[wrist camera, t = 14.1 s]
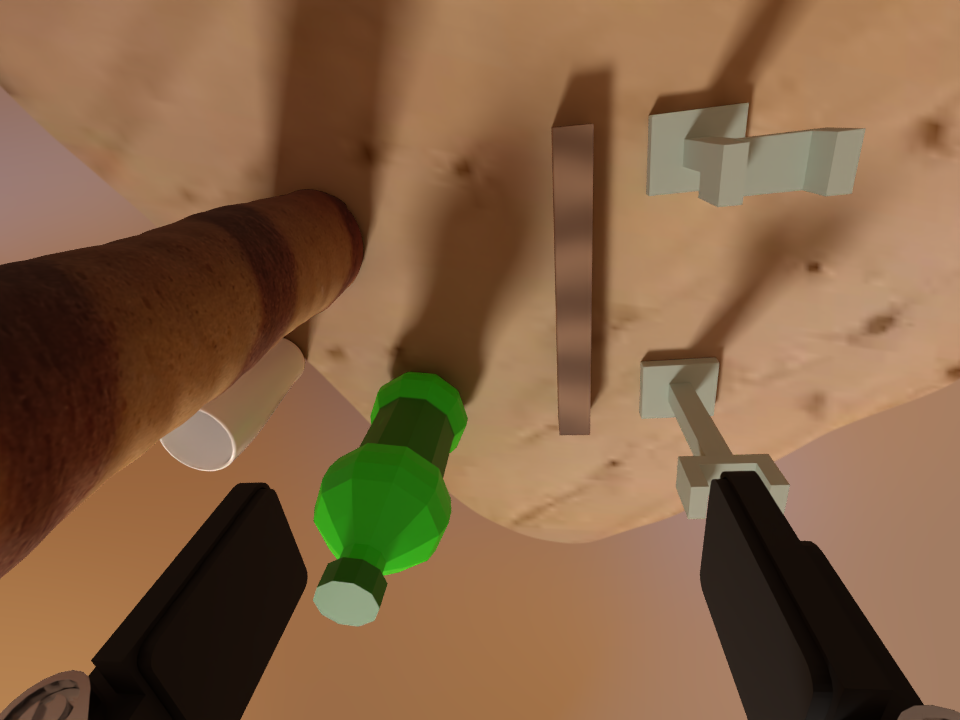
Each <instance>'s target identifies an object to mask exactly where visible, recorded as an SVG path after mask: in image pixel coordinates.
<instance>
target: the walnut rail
mask: <svg viewBox="0 0 960 720" xmlns="http://www.w3.org/2000/svg"><path fill="white" fill-rule="evenodd" d="M593 139H594V124H580V125H570V126H560V127H552V169H553V212H554V254H555V297H556V340H557V383H558V419H559V432H560V435H590V397H591V311H592V225H593Z"/></svg>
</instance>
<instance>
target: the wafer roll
mask: <svg viewBox="0 0 960 720" xmlns="http://www.w3.org/2000/svg"><path fill="white" fill-rule="evenodd" d="M362 259H363V241H362V236H361V233H360V230H359V227H358V224H357V222H356V220H355V218H354V217H353V215H352V213H351V212H350V211H349V210H348V209H347V207H346V205H345V203H343V202H342V201H341V200H339V199H338V198H336V197H334V196H332V195H329V194H326V193H324V192H321V191H317V190H310V189H305V190H298V191H295V192H292V193H290V194H287V195H281V196H277V197H272V198H266V199H260V200H256V201H252V202H249V203H241V204H236V205H227V206H222V207H219V208H215V209H212V210H209V211H206V212H201V213H197V214H194V215H191V216H188V217H186V218H184V219H182V220H179V221H177V222H175V223H172V224H169V225H166V226H163V227H159V228H156V229H152V230H149V231H147V232H144V233H142V234H140V235H137V236H132V237H128V238H124V239H120V240H116V241H113V242H110V243H107V244H103V245H99V246H92V247H86V248H80V249H75V250H70V251H65V252H60V253H55V254H50V255H45V256H41V257H37V258H33V259H29V260H25V261H18V262H12V263H7V264H3V265H0V578H1V577H3V576H4V575H5V574H6V573H8V572H9V571H10V570H11V569H12V568H14V567H15V566H16V565H17V564H18V563H19V562H21V561H22V560H23V559H24V558H25V557H26V556H27V555H28V554H29V553H30V552H31V551H32V550H33V549H34V548H35V547H37V546H38V544H39V543H40V542H41V541H42V540H43V539H44V538H45V537H46V536H47V535H48V534H49V533H50V531H52V530H53V529H54V528H55V527H56V526H57V525H58V524H59V523H60V522H61V521H62V520H63V519H65V518H66V517H67V516H68V515H69V514H70V513H72V512H73V511H74V510H75V509H76V508H78V507H79V506H80V505H81V504H82V503H84V502H85V501H86V500H87V499H88V498H89V497H90V496H91V495H92V494H94V493H95V492H96V491H97V490H98V489H99V488H100V487H101V486H102V485H103V484H104V483H105V482H106V481H107V480H108V479H109V478H110V477H112V476H113V475H114V474H116V473H117V472H119V471H120V470H122V469H123V468H125V467H126V466H127V465H129V464H131V463H132V462H134V461H135V460H136V459H138V458H139V457H140V456H142V455H143V454H144V453H145V452H146V451H148V450H149V449H150V448H151V447H152V446H153V445H154V444H155V443H156V442H157V441H158V440H160V439H161V438H162V437H164V436H165V435H167V434H168V433H170V432H171V431H173V430H175V429H176V428H178V427H179V426H181V425H182V424H183V423H185V422H186V421H187V420H188V419H190V418H191V417H192V416H193V415H194V414H195V413H197V412H198V411H199V410H200V409H201V408H202V407H203V405H205V404H207V403H208V402H210V401H212V400H214V399H215V398H217V397H218V396H220V395H221V394H223V393H224V392H225V391H226V390H227V389H229V388H230V387H231V386H232V385H233V384H234V383H235V382H236V381H237V380H238V379H239V378H240V377H241V376H242V375H243V374H245V373H246V372H248V371H249V370H250V369H251V368H253V367H254V366H255V365H256V364H257V363H258V362H259V361H260V359H261V358H262V357H263V356H264V355H265V354H266V353H267V352H269V351H270V350H271V349H272V348H273V347H274V346H275V345H276V344H278V342H279V341H280V340H281V339H282V338H283V337H284V336H286V335H287V334H289V333H290V332H292V331H293V330H294V329H295V328H296V327H298V326H299V325H301V324H302V323H304V322H306V321H307V320H309V319H310V318H311V317H312V316H313V315H316V314H318V313H320V312H322V311H324V310H325V309H327V308H328V307H329V306H330V305H331V304H332V303H333V302H334V301H335V300H336V299H337V298H338V297H339V296H340V295H341V294H342V293H343V291H344V290H345V289H346V288H348V287H349V286H350V285H351V284H352V283H353V281H354V280H355V278H356V276H357V274H358V272H359V270H360V267H361V263H362Z"/></svg>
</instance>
